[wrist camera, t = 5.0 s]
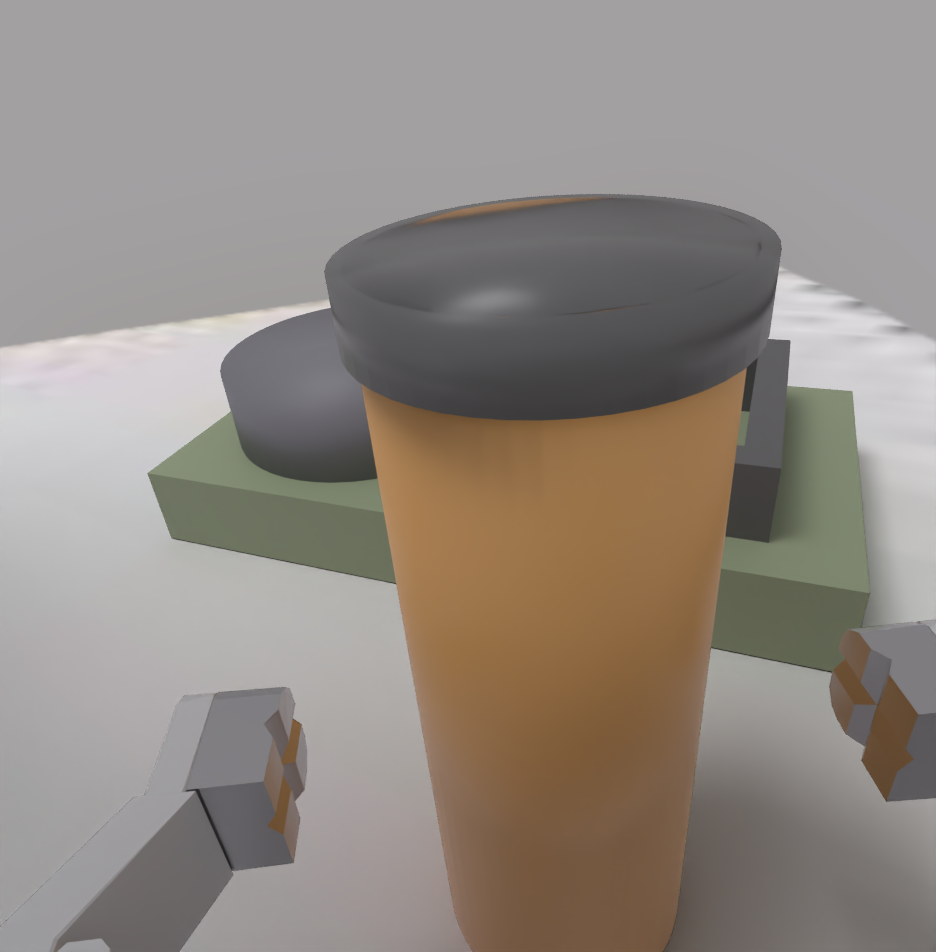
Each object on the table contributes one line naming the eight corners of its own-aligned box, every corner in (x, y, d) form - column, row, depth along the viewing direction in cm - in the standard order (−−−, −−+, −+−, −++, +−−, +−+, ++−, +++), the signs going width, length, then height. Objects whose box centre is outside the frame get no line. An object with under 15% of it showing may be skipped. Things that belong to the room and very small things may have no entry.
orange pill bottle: (401, 956, 15) (231, 309, 8) (489, 747, 20) (432, 194, 12) (666, 1062, 13) (768, 342, 6) (702, 805, 18) (788, 192, 10)
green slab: (171, 537, 29) (120, 400, 26) (327, 402, 38) (304, 289, 35) (847, 674, 21) (896, 496, 17) (838, 458, 30) (868, 316, 27)
